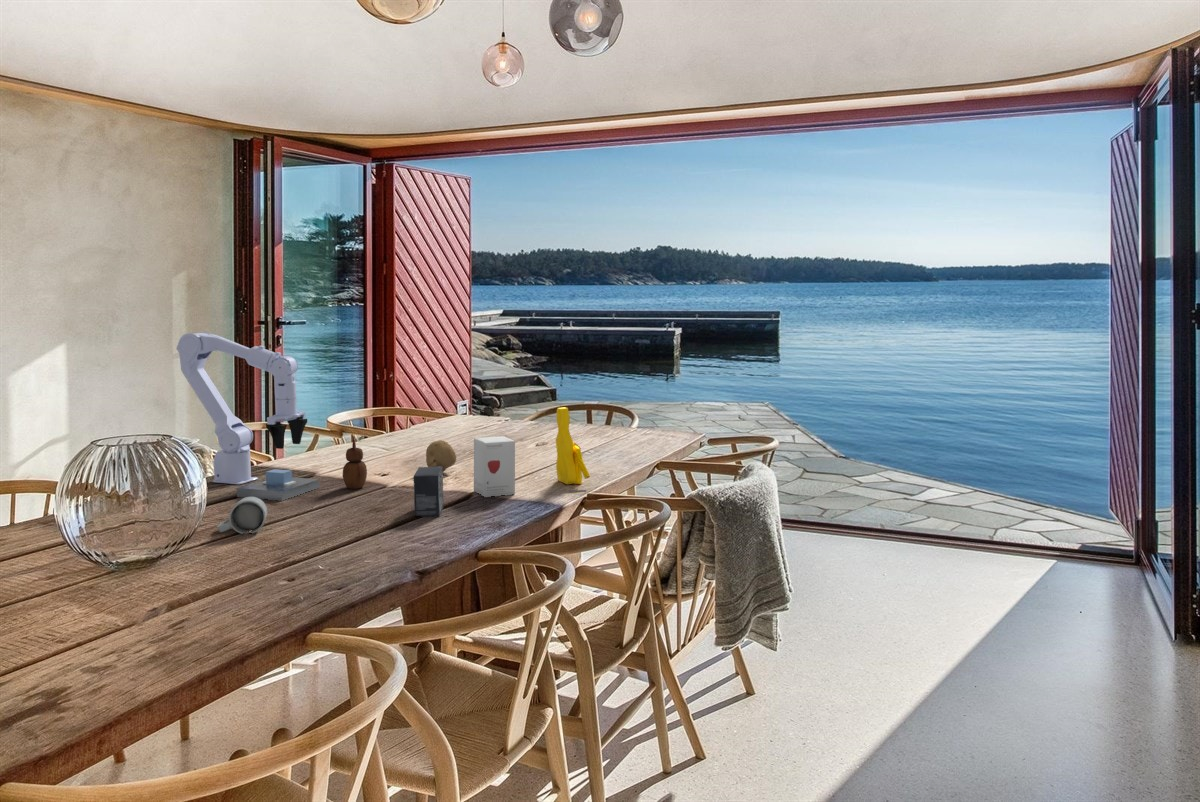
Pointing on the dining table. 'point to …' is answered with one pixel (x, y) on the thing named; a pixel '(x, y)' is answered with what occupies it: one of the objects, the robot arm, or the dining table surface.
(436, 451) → the natural sponge
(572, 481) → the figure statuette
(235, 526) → the ceramic mug
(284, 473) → the block
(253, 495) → the plate
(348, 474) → the wooden figurine
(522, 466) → the dining table surface
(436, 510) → the small box
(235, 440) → the robot arm
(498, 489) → the supplement box
